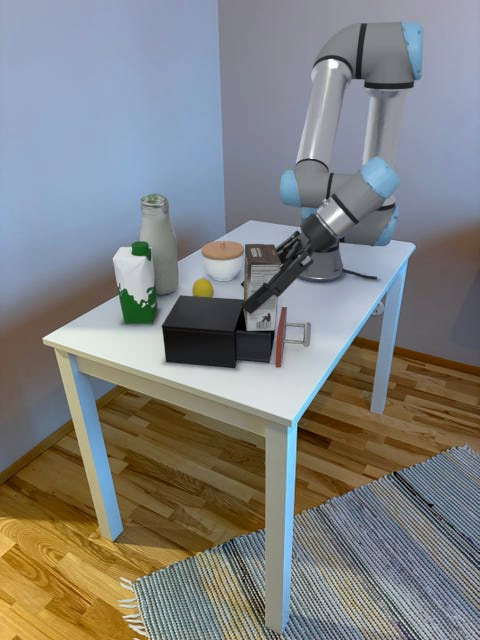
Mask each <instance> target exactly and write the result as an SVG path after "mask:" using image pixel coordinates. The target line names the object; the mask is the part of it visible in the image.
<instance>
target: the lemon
mask: <svg viewBox="0 0 480 640" xmlns="http://www.w3.org/2000/svg"><path fill="white" fill-rule="evenodd" d="M192 296H198V297H213V298H214V287H213V284H212V282H211V281H210V280H209V279H207V278H204V277H201V278H198V279H197V280H196V281H194V284H193V285H192Z"/></svg>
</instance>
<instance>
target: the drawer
mask: <svg viewBox="0 0 480 640" xmlns="http://www.w3.org/2000/svg"><path fill="white" fill-rule="evenodd" d="M287 315H288V306H281V310H280V315H279V321H278V325H277V331H276V329H275V330H267V331H247V328H246V322H245V316H244V311H243V309H242V312H241V315H240V318H239V321H238V324H237V327H236V330H235V360H237V362H238V361H239V362H250V363H259V364H260V363H262V364H270V363H271V359H272V354H273V349H274V342H275V368H282V364H283V356H284V350H285V344H289V345H291V344H292V345H302V346H303V347H304V348H309V347H310V345H311V336H312V335H311V333H312V323H311V322H309V321H307V322H305V323H295V322H294V323H293V322H287ZM287 327H290V328H303V338H302V340H297V339H286V337H287ZM275 338H276V339H275ZM275 340H276V341H275Z"/></svg>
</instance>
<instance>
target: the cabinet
mask: <svg viewBox="0 0 480 640" xmlns="http://www.w3.org/2000/svg"><path fill="white" fill-rule="evenodd" d="M243 302H244V298H242V299H241V298H227V297H214V296H213V297H198V296H193V295H182V294H180V295H179V296H178V298H177V299H176V301H175V303H174V304H173V306H172V308H171V309H170V311H169V313H168V314H167V316H166V318H165V319H164V321H163V322H162V324H161V330H162V340H163V349H164V356H165V363H169V364H181V365H191V366H201V367H215V368H223V369H225V368H227V369H236V367H237V363H238V361H237V360H235V330H236V327H237V324H238V321H239V318H240V315H241V312H242V309H243V307H241V304H242V303H243Z"/></svg>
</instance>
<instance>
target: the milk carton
mask: <svg viewBox="0 0 480 640" xmlns="http://www.w3.org/2000/svg"><path fill="white" fill-rule="evenodd" d="M112 263H113V267H114V268H113V269H114V274H115V275H114V276H115V280H116V287H117V292H118V297H119V304H120V308H121V313H122V317H123V322H124V324H153V323H154V320H155V317H156V315H157V312H158V294H157V293H156V285H155V276H154V268H153V258H152V247H149V245H148V243H147V242H144V241H139V240H138V241H135V242H133V243H131V246H120V247H119V248H118V250H117V251H116V253H115V254H114V255H113V257H112Z"/></svg>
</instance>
